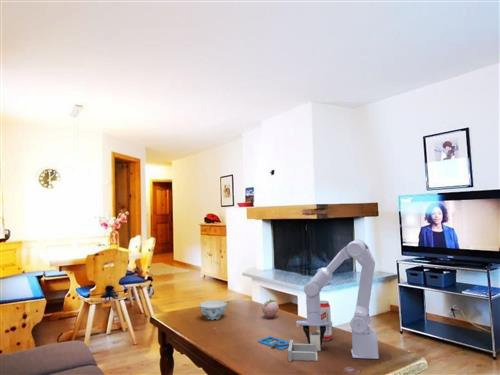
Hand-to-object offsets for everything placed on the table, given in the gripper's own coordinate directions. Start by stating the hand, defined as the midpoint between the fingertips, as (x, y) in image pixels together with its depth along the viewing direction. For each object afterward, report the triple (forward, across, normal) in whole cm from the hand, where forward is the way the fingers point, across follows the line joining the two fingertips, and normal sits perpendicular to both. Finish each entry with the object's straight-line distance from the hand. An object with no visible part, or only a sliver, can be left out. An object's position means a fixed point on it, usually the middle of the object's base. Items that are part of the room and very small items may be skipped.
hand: (315, 344), depth 148 cm
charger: (+2, 0, 0) cm, 2 cm away
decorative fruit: (+2, +24, -43) cm, 49 cm away
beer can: (+2, -4, -12) cm, 13 cm away
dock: (+2, +4, +8) cm, 9 cm away
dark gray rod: (+2, +13, -1) cm, 13 cm away
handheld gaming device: (+2, +17, -5) cm, 18 cm away
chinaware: (+2, +55, -41) cm, 69 cm away
